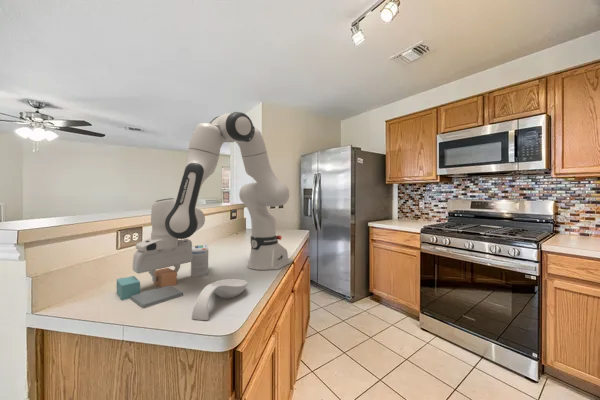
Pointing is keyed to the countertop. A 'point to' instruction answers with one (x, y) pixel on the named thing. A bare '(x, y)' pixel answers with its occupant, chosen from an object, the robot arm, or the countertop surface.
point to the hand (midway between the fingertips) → (165, 279)
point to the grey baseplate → (156, 296)
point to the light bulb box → (199, 261)
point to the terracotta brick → (166, 277)
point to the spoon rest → (222, 289)
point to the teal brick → (128, 287)
